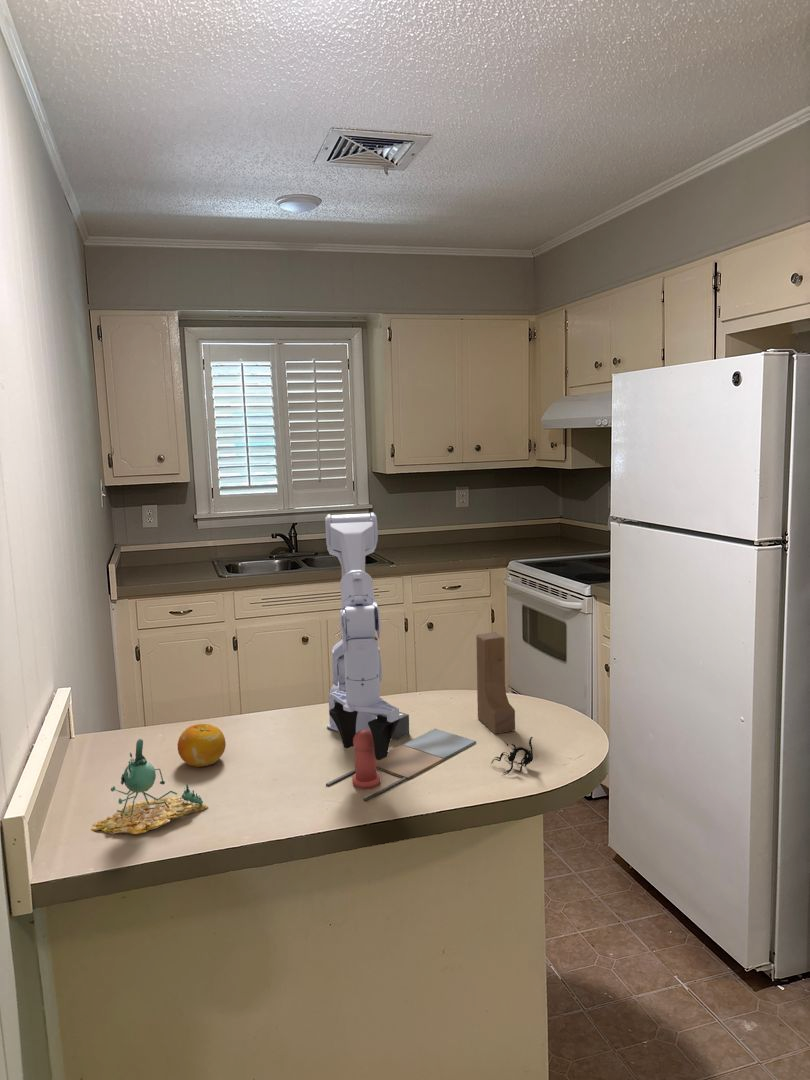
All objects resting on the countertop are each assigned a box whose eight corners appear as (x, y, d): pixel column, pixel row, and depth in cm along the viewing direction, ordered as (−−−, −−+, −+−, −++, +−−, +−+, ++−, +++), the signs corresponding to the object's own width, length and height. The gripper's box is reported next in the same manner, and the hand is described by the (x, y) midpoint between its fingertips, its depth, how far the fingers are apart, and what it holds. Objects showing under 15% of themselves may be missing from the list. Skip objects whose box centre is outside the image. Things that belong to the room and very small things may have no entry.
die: (380, 735, 156) (380, 715, 156) (394, 729, 159) (393, 709, 159) (395, 740, 154) (395, 720, 153) (409, 733, 157) (408, 714, 156)
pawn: (346, 783, 136) (344, 731, 135) (366, 774, 140) (364, 722, 138) (366, 791, 133) (364, 738, 131) (386, 781, 136) (384, 729, 135)
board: (325, 784, 136) (325, 782, 136) (435, 730, 158) (435, 728, 158) (367, 802, 129) (367, 799, 129) (475, 742, 151) (475, 740, 151)
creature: (491, 782, 137) (536, 775, 136) (484, 753, 137) (529, 746, 135) (495, 763, 145) (538, 756, 143) (488, 735, 145) (531, 728, 143)
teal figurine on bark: (207, 830, 122) (189, 741, 120) (87, 856, 120) (65, 766, 117) (211, 800, 132) (194, 717, 129) (99, 824, 129) (80, 740, 126)
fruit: (210, 758, 140) (204, 714, 143) (170, 772, 142) (165, 728, 145) (236, 761, 147) (231, 719, 150) (198, 774, 149) (193, 732, 153)
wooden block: (515, 731, 156) (515, 643, 153) (494, 734, 155) (493, 645, 152) (497, 715, 165) (496, 631, 162) (477, 718, 163) (475, 634, 161)
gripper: (315, 673, 135) (319, 749, 137) (377, 690, 126) (380, 771, 128) (344, 663, 140) (348, 736, 142) (406, 678, 131) (409, 756, 133)
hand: (365, 752), depth 135 cm, fingers open, 7 cm apart
